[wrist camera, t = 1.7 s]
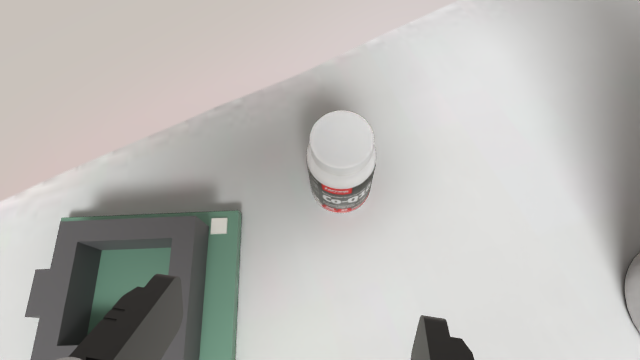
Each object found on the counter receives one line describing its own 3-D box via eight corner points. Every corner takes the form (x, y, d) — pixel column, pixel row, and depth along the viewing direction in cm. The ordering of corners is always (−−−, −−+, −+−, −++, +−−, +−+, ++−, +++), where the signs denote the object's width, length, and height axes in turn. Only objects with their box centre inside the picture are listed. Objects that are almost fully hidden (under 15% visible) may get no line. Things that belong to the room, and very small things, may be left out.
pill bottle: (322, 222, 31) (316, 185, 23) (304, 169, 33) (292, 118, 25) (379, 203, 31) (392, 160, 24) (358, 152, 33) (363, 96, 25)
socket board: (241, 214, 32) (228, 198, 28) (233, 382, 27) (217, 390, 23) (69, 221, 32) (33, 206, 28) (34, 387, 28) (-13, 396, 24)
